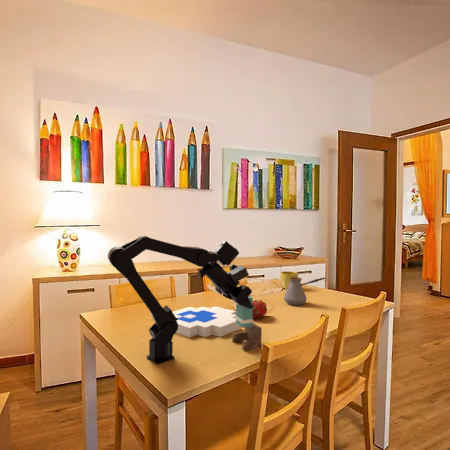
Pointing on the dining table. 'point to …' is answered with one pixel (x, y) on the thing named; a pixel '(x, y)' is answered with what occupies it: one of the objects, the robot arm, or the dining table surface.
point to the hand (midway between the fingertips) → (247, 305)
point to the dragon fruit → (258, 309)
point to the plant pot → (287, 277)
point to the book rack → (249, 337)
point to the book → (244, 315)
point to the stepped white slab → (205, 321)
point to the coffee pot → (297, 291)
